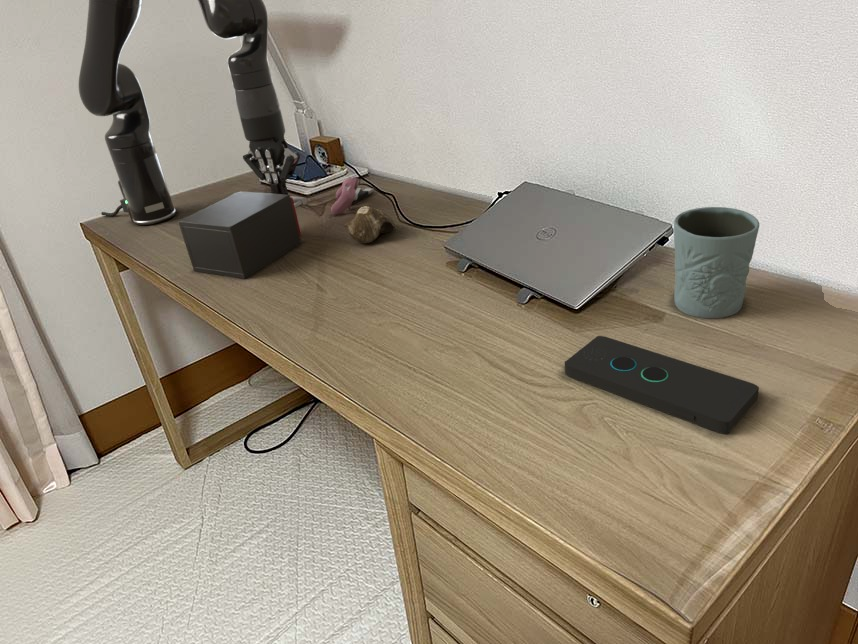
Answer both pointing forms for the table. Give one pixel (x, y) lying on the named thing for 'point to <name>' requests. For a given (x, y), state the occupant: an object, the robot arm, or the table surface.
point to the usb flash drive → (362, 193)
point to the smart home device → (664, 383)
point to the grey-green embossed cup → (712, 260)
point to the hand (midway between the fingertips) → (281, 200)
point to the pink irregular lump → (345, 196)
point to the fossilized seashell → (369, 224)
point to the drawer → (296, 202)
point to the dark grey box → (240, 233)
